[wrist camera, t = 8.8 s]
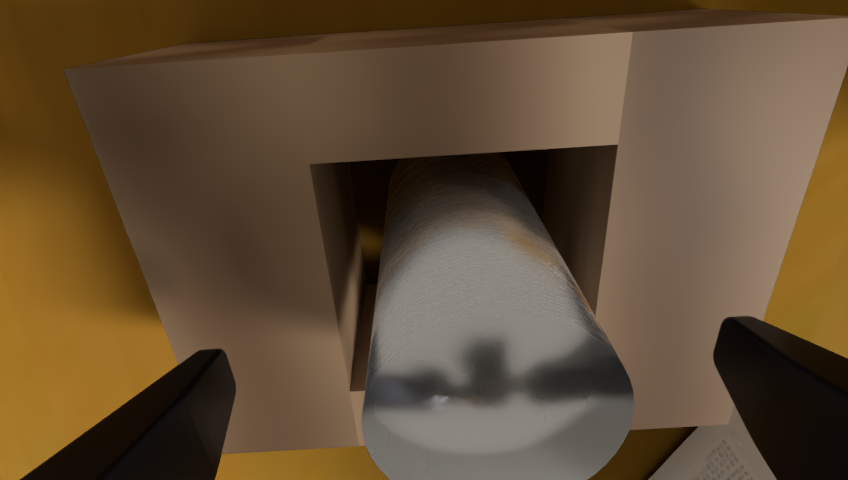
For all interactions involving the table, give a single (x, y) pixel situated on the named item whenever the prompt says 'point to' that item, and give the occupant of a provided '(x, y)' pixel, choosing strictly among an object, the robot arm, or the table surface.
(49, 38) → the table surface
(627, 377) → the silver upright cylinder
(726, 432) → the white rounded printed block
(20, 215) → the table surface
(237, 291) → the hole board
